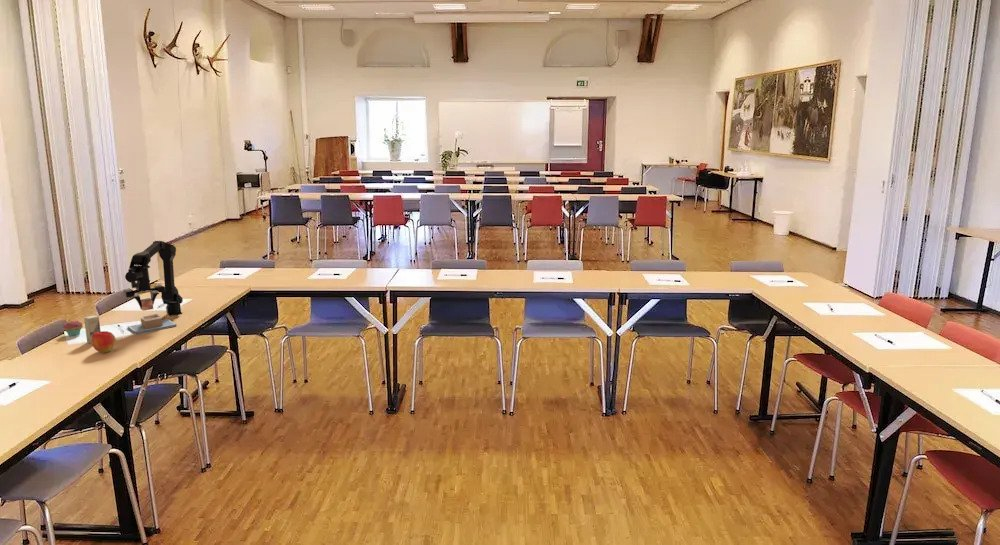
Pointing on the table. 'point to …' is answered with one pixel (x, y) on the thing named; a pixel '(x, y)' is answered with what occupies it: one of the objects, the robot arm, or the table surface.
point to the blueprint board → (139, 328)
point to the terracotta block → (146, 304)
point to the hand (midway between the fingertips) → (146, 306)
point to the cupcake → (72, 327)
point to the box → (91, 327)
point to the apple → (103, 341)
